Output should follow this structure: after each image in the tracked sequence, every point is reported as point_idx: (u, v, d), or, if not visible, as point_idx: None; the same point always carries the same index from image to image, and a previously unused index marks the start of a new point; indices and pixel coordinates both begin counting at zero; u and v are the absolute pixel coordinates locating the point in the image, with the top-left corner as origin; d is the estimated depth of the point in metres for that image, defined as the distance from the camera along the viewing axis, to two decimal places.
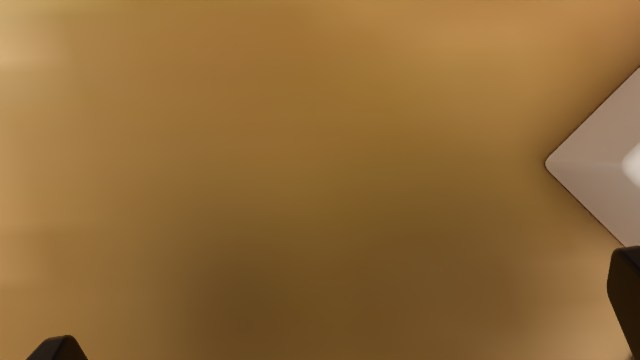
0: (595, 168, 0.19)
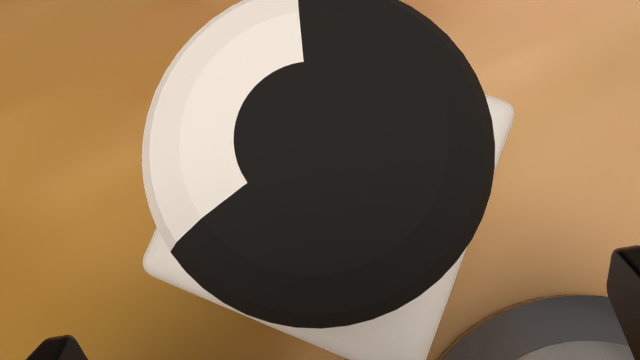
0: None
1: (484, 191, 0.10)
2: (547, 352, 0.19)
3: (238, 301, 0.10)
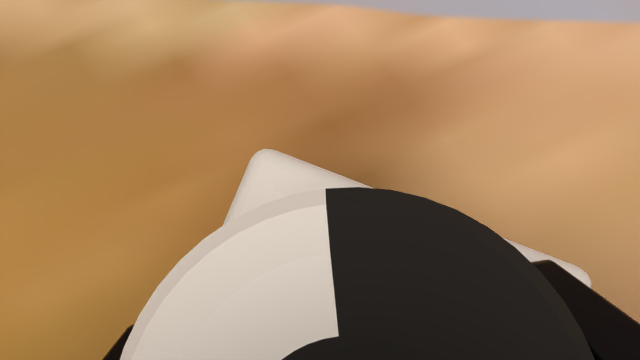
0: None
1: None
2: None
3: None
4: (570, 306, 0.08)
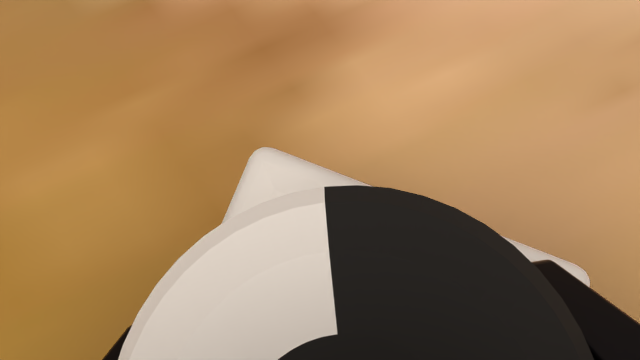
0: None
1: None
2: None
3: None
4: (570, 306, 0.08)
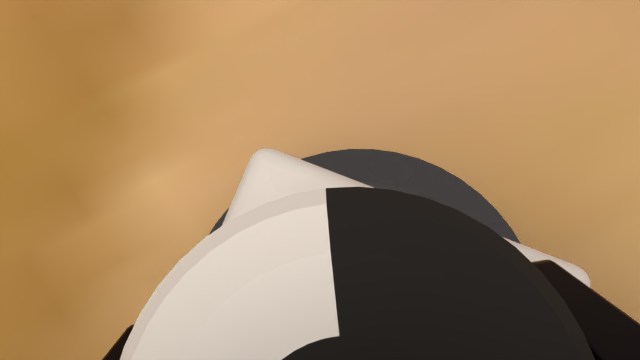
0: None
1: None
2: None
3: None
4: (570, 306, 0.08)
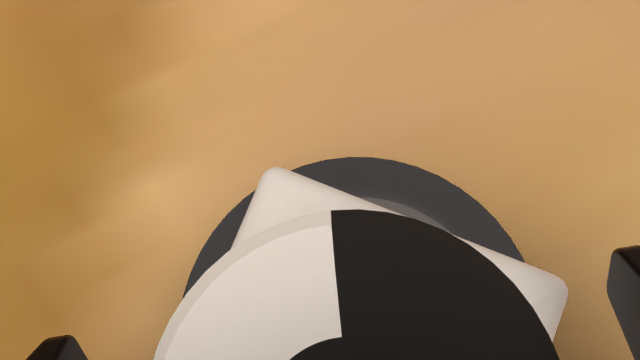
0: None
1: None
2: None
3: None
4: None
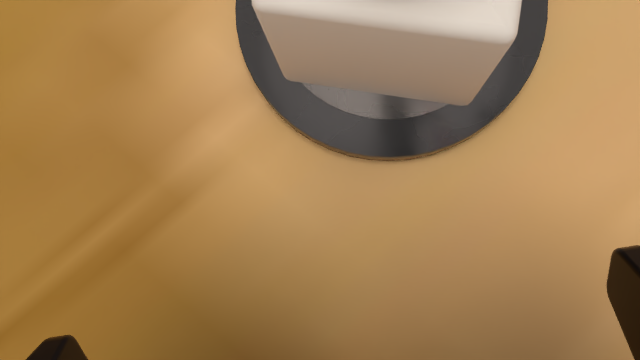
0: (266, 33, 0.18)
1: None
2: None
3: None
4: None
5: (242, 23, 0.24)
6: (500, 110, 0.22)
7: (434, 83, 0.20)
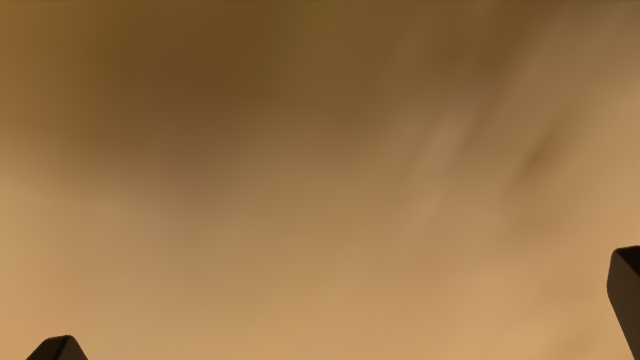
0: None
1: None
2: None
3: None
4: None
5: None
6: None
7: None
